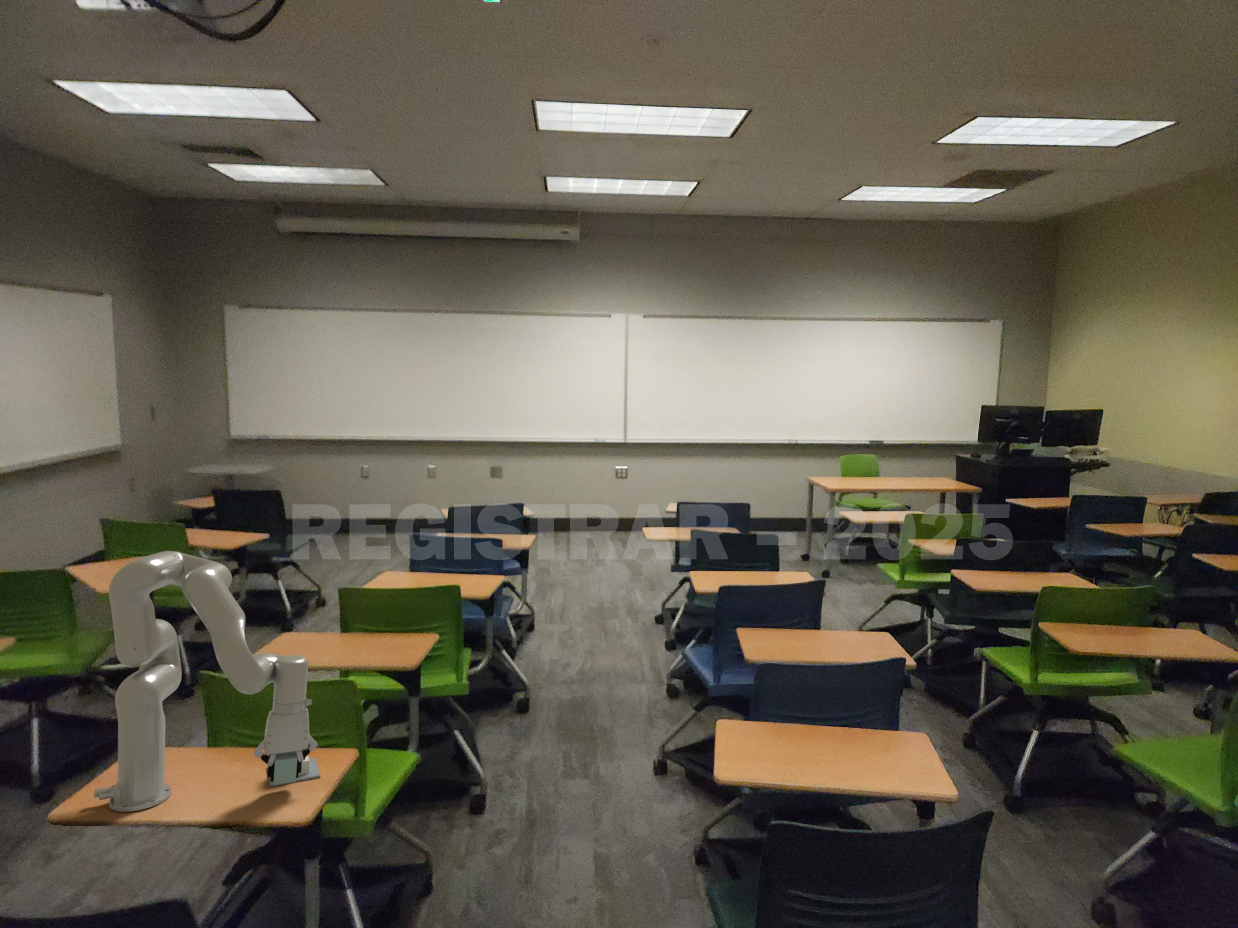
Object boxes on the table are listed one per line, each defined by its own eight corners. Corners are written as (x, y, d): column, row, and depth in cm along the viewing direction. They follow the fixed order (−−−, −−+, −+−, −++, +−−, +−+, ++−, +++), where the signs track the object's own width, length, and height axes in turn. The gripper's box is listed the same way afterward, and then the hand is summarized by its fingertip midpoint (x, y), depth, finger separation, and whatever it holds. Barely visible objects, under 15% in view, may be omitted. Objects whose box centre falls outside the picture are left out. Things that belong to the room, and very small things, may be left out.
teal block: (273, 784, 172) (275, 760, 172) (272, 776, 177) (274, 752, 177) (295, 781, 175) (297, 757, 175) (294, 773, 179) (295, 749, 179)
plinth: (269, 786, 178) (270, 771, 178) (267, 767, 188) (267, 752, 188) (320, 777, 184) (320, 762, 184) (315, 759, 194) (315, 745, 194)
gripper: (323, 697, 183) (318, 766, 183) (250, 704, 175) (245, 776, 175) (327, 707, 176) (322, 778, 177) (251, 715, 168) (246, 789, 168)
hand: (284, 776), depth 176 cm, fingers closed on teal block, 4 cm apart
